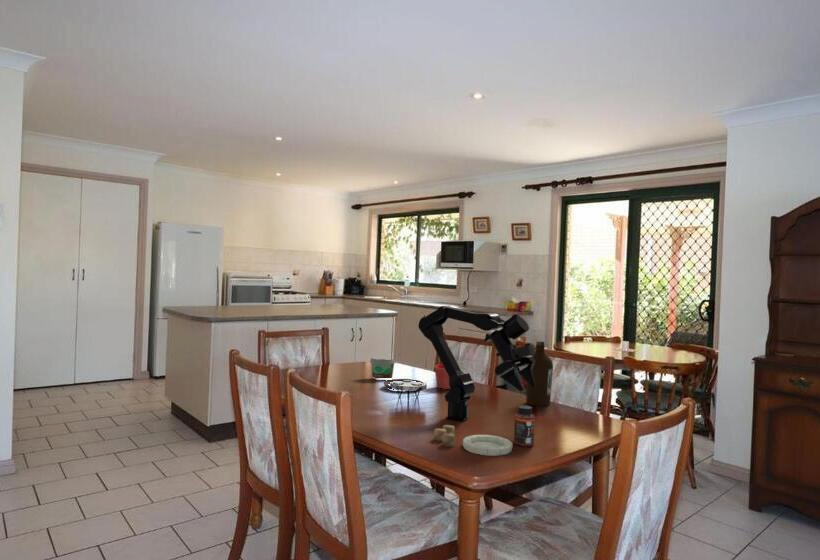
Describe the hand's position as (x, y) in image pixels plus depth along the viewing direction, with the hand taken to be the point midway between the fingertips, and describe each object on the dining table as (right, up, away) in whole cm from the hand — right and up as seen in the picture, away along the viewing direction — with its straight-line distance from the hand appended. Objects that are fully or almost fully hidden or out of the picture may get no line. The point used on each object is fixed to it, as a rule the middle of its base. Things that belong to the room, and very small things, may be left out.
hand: (528, 388), depth 177 cm
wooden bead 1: (-29, -14, -10) cm, 34 cm away
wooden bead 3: (-27, -14, -15) cm, 34 cm away
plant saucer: (-41, -13, +63) cm, 77 cm away
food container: (-52, -12, +82) cm, 98 cm away
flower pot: (-22, -14, +68) cm, 73 cm away
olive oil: (+13, -15, +44) cm, 48 cm away
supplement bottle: (-4, -15, -11) cm, 19 cm away
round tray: (-16, -14, -16) cm, 27 cm away
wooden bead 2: (-26, -14, -5) cm, 30 cm away
